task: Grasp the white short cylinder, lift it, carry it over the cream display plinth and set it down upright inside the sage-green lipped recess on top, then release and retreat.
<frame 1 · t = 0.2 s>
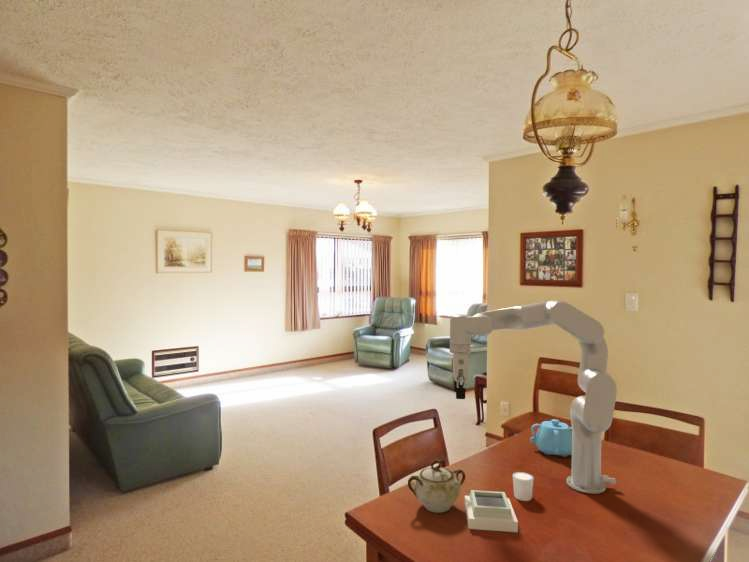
hand: (459, 395, 164), 31 cm above the table, tool pointing down, fingers open, 9 cm apart
sugar bowl: (436, 506, 144), on the table
decorative pot: (554, 452, 190), on the table
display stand: (489, 517, 138), on the table
white short cylinder: (522, 497, 151), on the table
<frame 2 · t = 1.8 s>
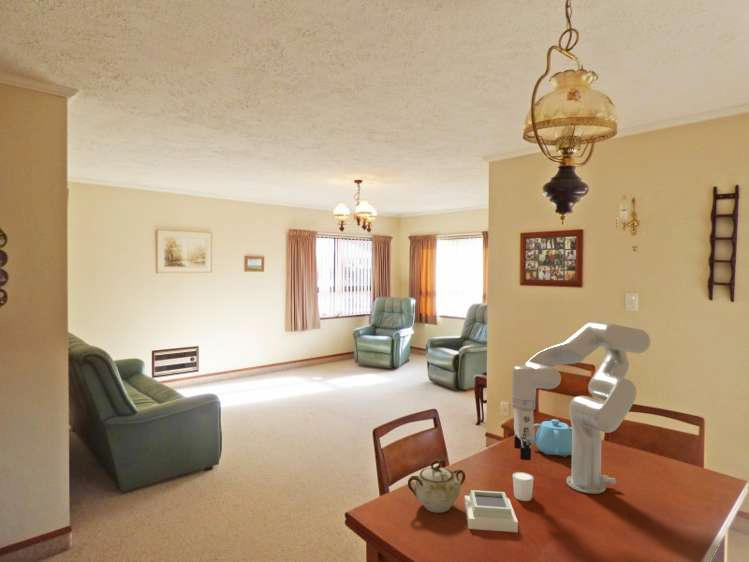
hand: (522, 453, 151), 15 cm above the table, tool pointing down, fingers open, 9 cm apart
nothing on the table moved.
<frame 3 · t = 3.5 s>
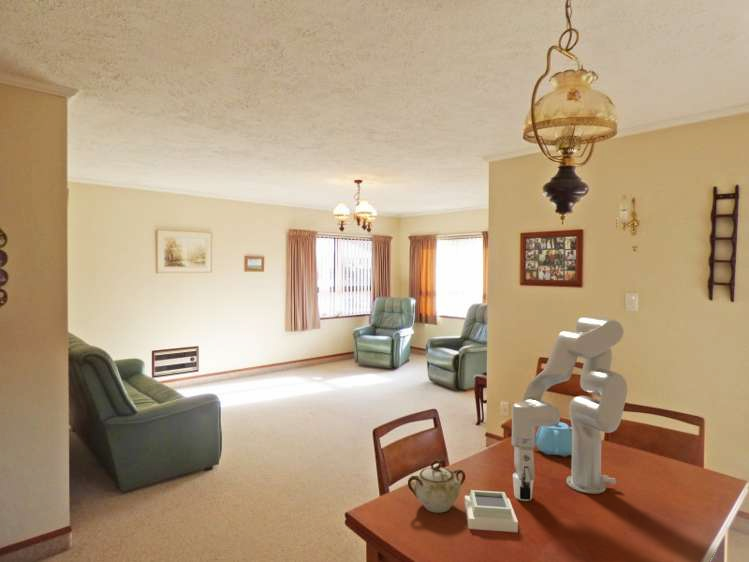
hand: (522, 493, 151), 1 cm above the table, tool pointing down, fingers closed on white short cylinder, 6 cm apart
white short cylinder: (522, 497, 151), on the table, touching gripper
everything else where it was.
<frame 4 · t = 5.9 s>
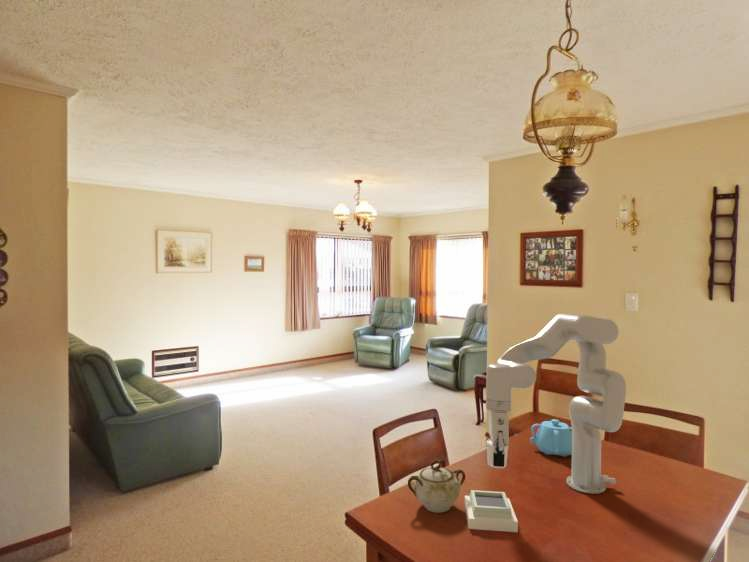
hand: (496, 461, 140), 16 cm above the table, tool pointing down, fingers closed on white short cylinder, 6 cm apart
white short cylinder: (496, 465, 140), point 15 cm above the table, touching gripper
everything else where it was.
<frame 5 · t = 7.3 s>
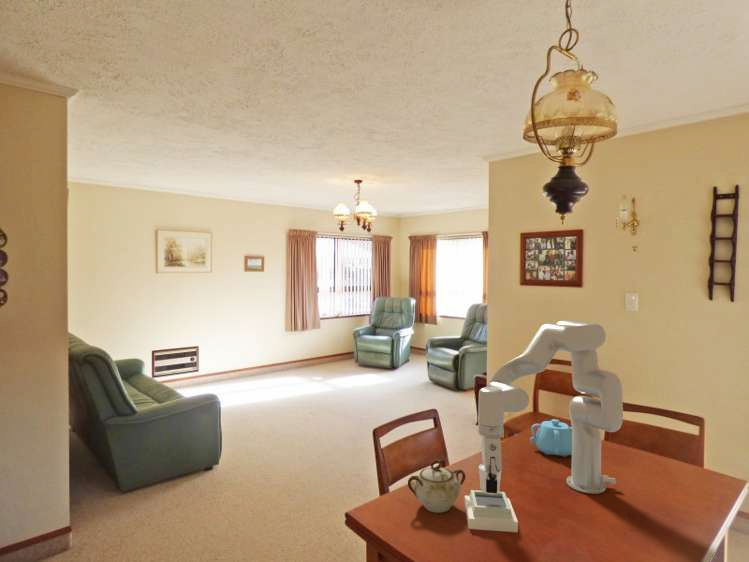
hand: (489, 486, 137), 10 cm above the table, tool pointing down, fingers closed on white short cylinder, 6 cm apart
white short cylinder: (489, 490, 137), point 8 cm above the table, touching gripper
everything else where it was.
when the fingers open (7 cm above the table, at t = 8.3 s): white short cylinder drops 1 cm, resting on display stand.
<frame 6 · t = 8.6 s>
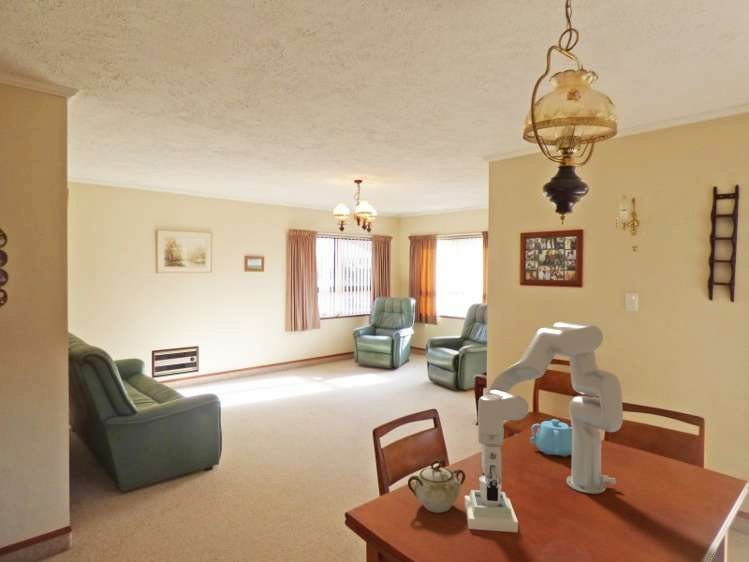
hand: (490, 492, 137), 8 cm above the table, tool pointing down, fingers open, 9 cm apart
white short cylinder: (490, 502, 138), point 5 cm above the table, touching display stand
everything else where it was.
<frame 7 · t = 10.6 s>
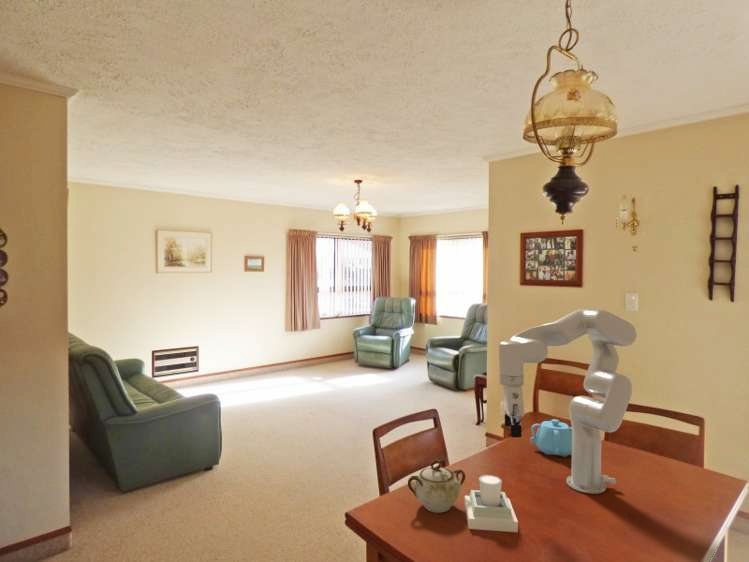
hand: (512, 431, 146), 24 cm above the table, tool pointing down, fingers open, 9 cm apart
nothing on the table moved.
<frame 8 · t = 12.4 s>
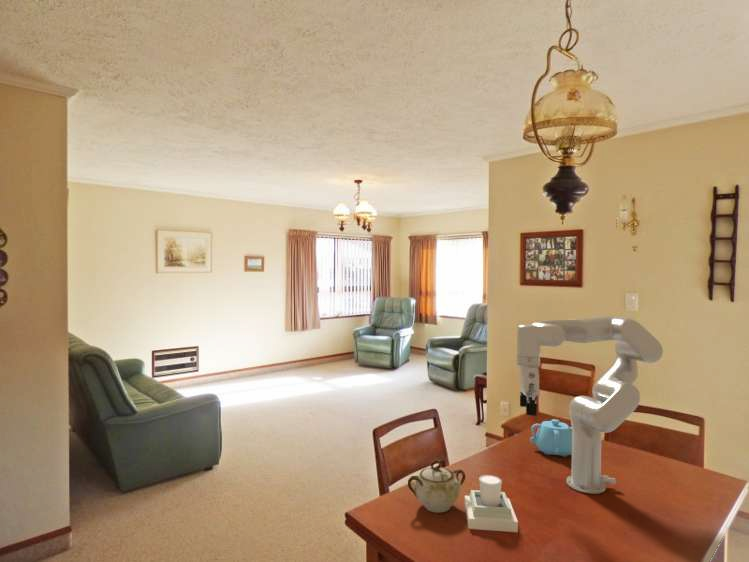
hand: (527, 410, 153), 28 cm above the table, tool pointing down, fingers open, 9 cm apart
nothing on the table moved.
at the end: white short cylinder 0.3 cm off-centre on the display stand, point 4.5 cm above the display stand's base; white short cylinder tilted 0°; the gripper is holding nothing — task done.
